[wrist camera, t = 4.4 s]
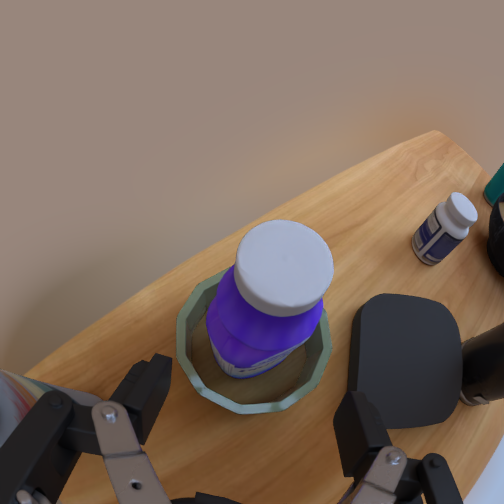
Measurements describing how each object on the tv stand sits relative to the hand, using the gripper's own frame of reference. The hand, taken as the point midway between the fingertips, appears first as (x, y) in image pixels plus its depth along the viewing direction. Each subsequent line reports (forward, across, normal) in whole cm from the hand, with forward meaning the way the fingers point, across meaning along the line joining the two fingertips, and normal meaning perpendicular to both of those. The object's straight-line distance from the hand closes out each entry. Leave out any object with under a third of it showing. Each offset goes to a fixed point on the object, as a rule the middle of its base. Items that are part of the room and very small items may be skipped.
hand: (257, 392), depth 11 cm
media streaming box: (+14, -18, +6) cm, 23 cm away
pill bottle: (+26, -22, -6) cm, 35 cm away
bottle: (+14, 0, +6) cm, 15 cm away
